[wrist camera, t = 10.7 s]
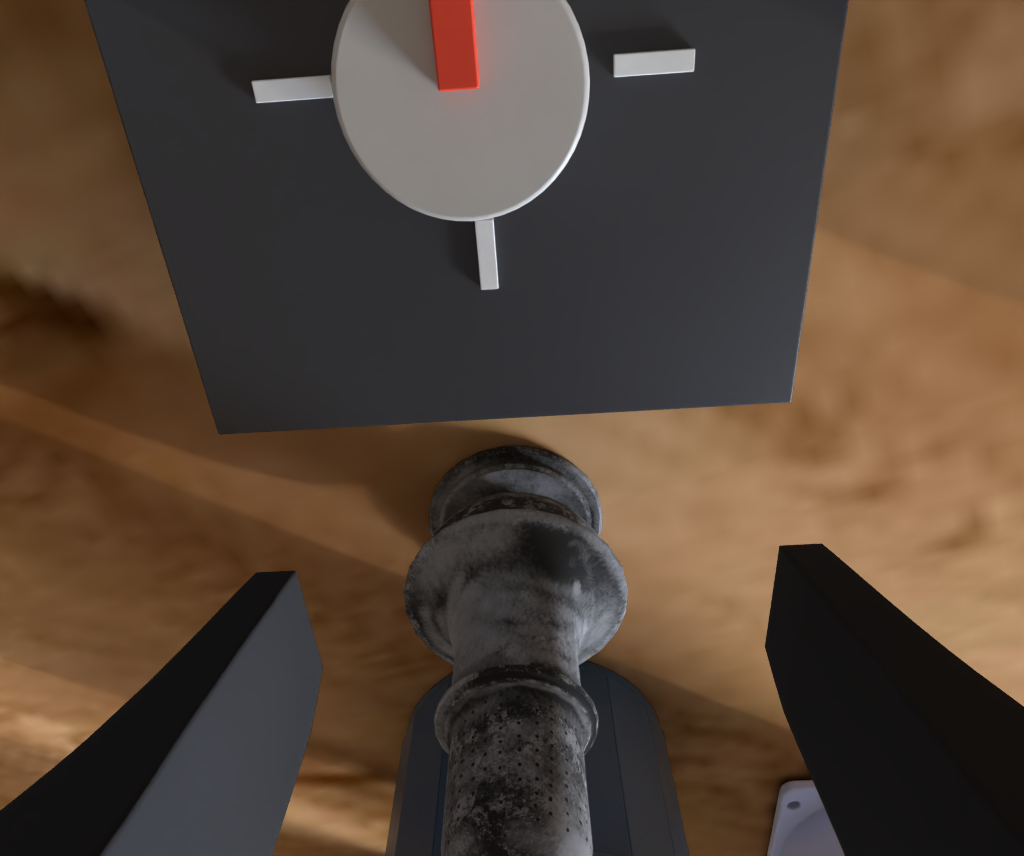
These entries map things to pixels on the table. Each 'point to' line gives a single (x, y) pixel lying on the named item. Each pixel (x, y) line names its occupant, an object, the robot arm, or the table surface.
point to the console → (483, 243)
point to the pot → (608, 764)
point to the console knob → (461, 99)
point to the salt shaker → (516, 647)
